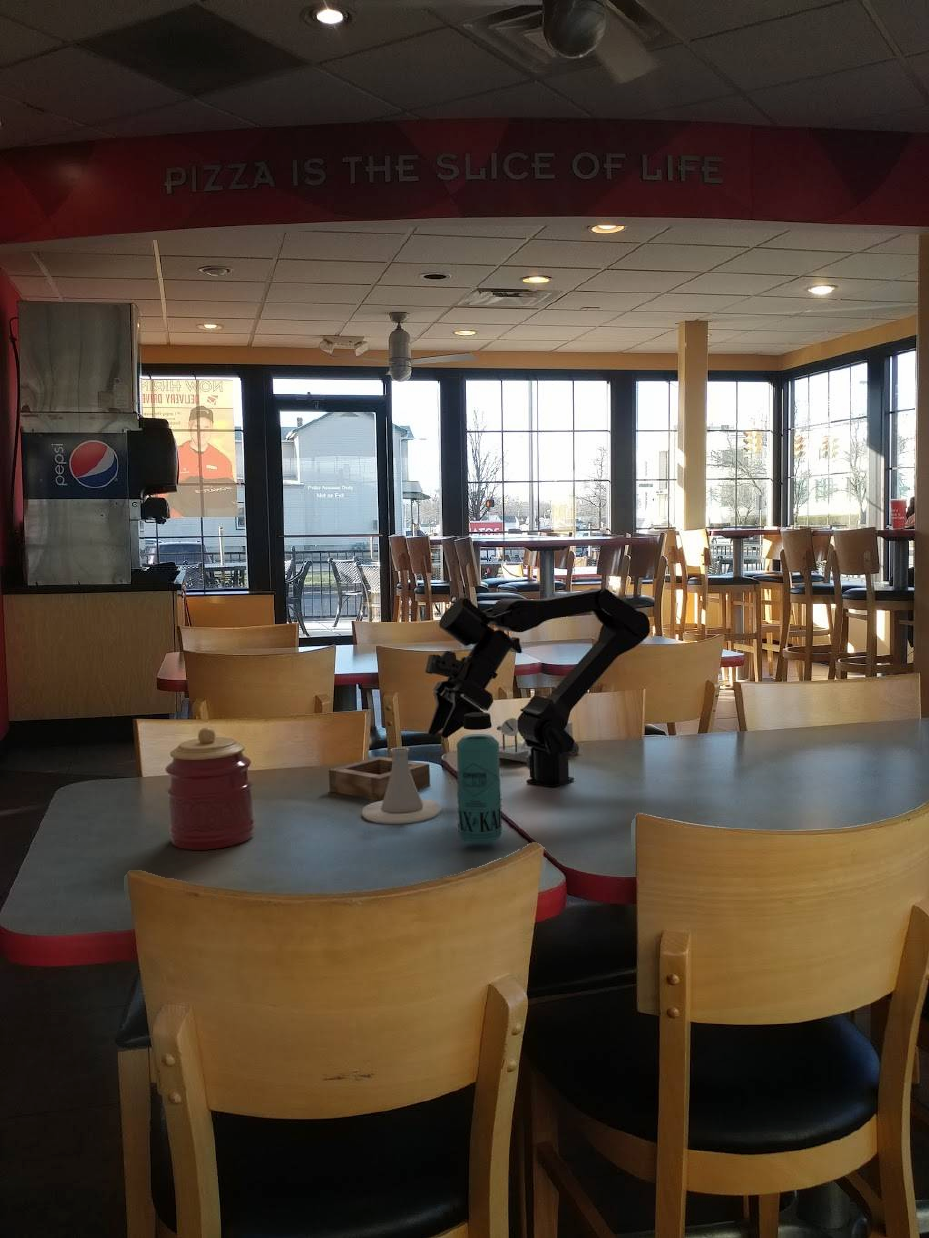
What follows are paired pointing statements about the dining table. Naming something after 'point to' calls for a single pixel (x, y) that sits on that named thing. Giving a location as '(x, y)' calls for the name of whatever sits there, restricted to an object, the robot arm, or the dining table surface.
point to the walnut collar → (373, 777)
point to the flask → (401, 785)
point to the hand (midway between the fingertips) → (436, 735)
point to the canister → (209, 793)
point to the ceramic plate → (400, 813)
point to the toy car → (523, 742)
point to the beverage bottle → (478, 782)
